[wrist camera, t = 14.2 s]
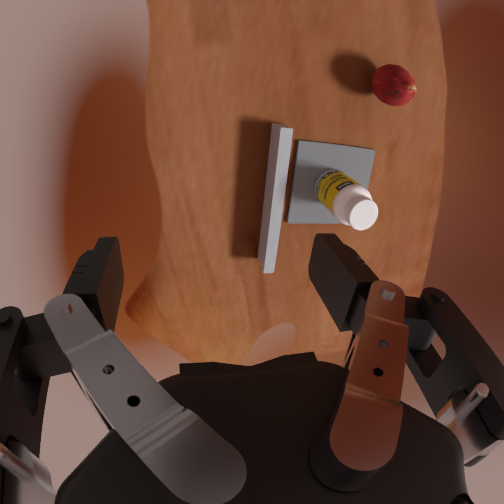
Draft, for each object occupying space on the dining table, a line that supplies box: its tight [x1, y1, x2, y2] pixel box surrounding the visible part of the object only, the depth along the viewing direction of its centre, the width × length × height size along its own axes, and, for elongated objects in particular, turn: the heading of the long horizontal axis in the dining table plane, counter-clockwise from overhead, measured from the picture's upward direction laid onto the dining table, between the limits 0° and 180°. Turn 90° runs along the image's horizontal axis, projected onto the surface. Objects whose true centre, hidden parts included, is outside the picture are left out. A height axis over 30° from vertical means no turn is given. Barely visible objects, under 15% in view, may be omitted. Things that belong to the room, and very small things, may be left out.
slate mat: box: [287, 140, 375, 224], centre depth 43 cm, size 12×12×1 cm
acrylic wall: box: [258, 123, 293, 273], centre depth 40 cm, size 20×2×4 cm, turn 175°
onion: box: [371, 64, 417, 106], centre depth 32 cm, size 6×6×8 cm
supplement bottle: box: [315, 170, 378, 230], centre depth 38 cm, size 5×5×10 cm
